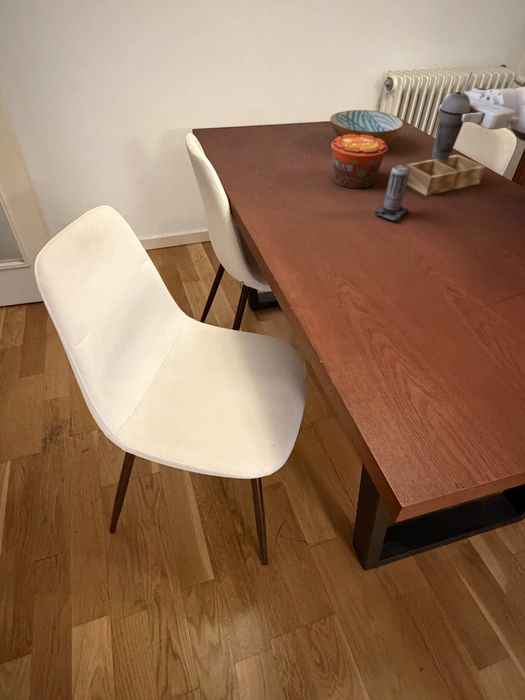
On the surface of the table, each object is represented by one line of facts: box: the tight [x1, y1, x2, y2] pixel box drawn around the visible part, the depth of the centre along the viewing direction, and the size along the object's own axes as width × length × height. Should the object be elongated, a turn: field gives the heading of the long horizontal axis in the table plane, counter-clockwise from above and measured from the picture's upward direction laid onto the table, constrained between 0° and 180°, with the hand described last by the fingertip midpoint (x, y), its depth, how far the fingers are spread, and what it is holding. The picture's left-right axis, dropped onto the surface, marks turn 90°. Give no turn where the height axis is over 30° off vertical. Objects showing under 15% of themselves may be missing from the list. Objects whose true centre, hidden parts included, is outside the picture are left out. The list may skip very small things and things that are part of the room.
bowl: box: [329, 109, 405, 145], centre depth 141 cm, size 25×25×8 cm
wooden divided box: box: [404, 154, 486, 197], centre depth 119 cm, size 21×11×5 cm, turn 115°
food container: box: [330, 134, 389, 190], centre depth 117 cm, size 16×16×11 cm
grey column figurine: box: [374, 164, 410, 223], centre depth 101 cm, size 9×8×12 cm
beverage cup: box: [431, 71, 473, 160], centre depth 104 cm, size 7×7×20 cm
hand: (450, 113), depth 103 cm, fingers closed on beverage cup, 7 cm apart
